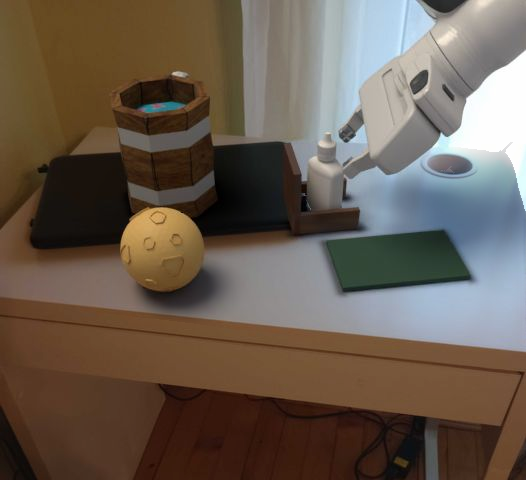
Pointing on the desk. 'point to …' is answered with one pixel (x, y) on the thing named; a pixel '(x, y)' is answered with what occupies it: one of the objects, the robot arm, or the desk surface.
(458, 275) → the mat
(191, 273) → the stress ball
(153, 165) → the mug
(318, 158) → the eye dropper bottle
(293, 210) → the holder
